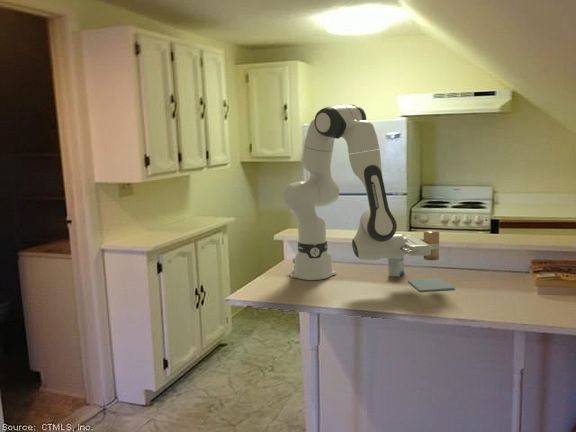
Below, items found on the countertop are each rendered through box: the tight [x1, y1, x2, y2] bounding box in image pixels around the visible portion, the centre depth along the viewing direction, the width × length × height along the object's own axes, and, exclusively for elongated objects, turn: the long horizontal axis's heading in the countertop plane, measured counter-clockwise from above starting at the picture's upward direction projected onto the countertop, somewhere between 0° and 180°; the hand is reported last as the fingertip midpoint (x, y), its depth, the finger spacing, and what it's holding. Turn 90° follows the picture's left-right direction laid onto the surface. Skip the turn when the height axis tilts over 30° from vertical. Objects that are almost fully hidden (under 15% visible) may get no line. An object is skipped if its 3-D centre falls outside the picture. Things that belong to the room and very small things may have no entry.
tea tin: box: [423, 230, 440, 261], centre depth 191 cm, size 6×6×10 cm
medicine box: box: [387, 256, 405, 278], centre depth 210 cm, size 8×4×9 cm, turn 154°
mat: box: [407, 277, 456, 293], centre depth 194 cm, size 13×13×1 cm
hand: (433, 243), depth 191 cm, fingers closed on tea tin, 5 cm apart
